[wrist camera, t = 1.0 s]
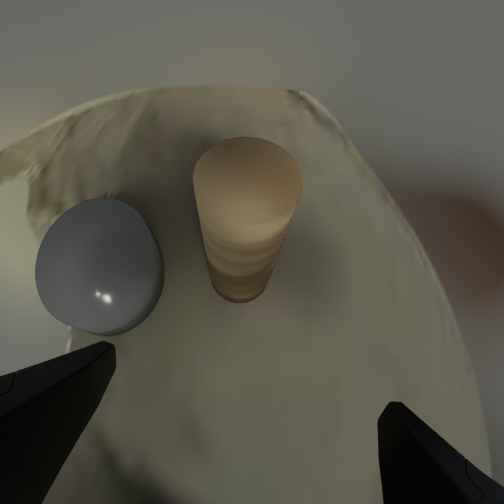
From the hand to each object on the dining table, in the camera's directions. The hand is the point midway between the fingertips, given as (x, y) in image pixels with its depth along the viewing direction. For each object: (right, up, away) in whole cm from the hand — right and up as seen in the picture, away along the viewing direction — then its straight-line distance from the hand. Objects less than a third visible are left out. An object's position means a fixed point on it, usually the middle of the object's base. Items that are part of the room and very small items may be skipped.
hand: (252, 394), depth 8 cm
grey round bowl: (-12, +2, +14) cm, 19 cm away
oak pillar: (-1, +2, +15) cm, 15 cm away
